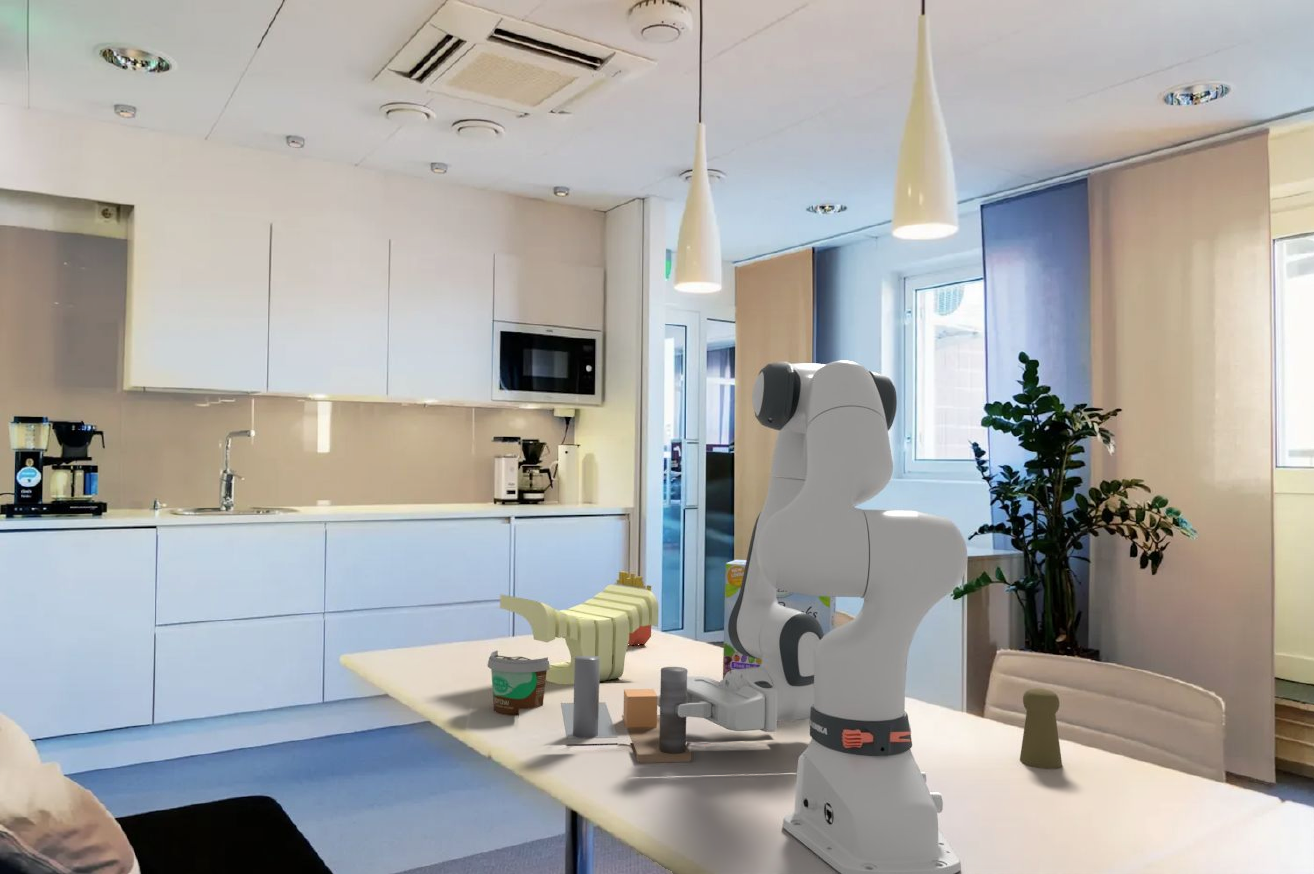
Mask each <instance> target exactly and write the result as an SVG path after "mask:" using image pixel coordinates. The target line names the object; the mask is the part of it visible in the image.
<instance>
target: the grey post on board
mask: <svg viewBox="0 0 1314 874" xmlns="http://www.w3.org/2000/svg"><path fill="white" fill-rule="evenodd" d="M687 677H688V669H687V668H685V667H679V666H664V667H662V668H661V669H660V687H659V688H660V693H659V695H660V707H659V714H657V727H626V730H627V732H628V734H629V737H630V739H631V742H629V745H630V747H631V749H632V752H633V755H634V757H635V760H636V762H637V764H647V763H648V764H649V763H653V764H654V763H655V764H656V763H683V762H686V763H689V762H692V753H691V750H690V749H689V747H688V746H687V745H686V744H687V743H686V742H687V717H679V716H678V715H676V714H675V705H676V704H677V703H682V702H686V703H687ZM621 718H622V719H623V714H622V715H621ZM623 722H624V721H623ZM624 724H625V722H624Z"/></svg>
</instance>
